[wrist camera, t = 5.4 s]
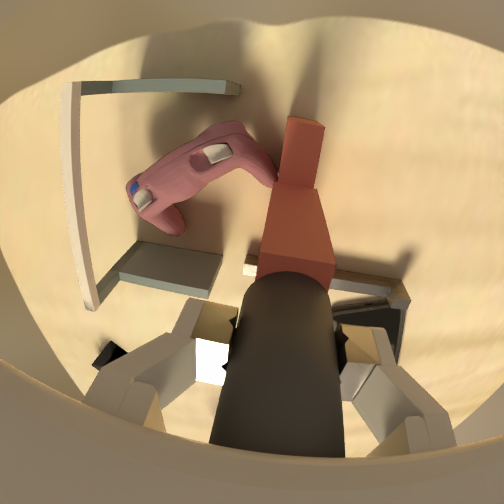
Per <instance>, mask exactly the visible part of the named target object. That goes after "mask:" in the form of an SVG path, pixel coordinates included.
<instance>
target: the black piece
mask: <svg viewBox="0 0 504 504" xmlns="http://www.w3.org/2000/svg"><path fill="white" fill-rule="evenodd" d="M126 354H127V352H126V351H125V350H123V349H122V348H120V347H119V346H118V345H116V344H115V343H114V342H112V341H110V342H109V343H108V345H107V346H106V347H105V348H104V350H103V351H102V352H101V353H100V355H99V356H98V357H97V358H96V360H95V361H94V362H93V364H92V366H93V367H95V368H96V369H97V370H99V371H100V369H101V367H103V366H105V365H107V364H109V363H111V362H112V361H114V360H116V359H118V358H120V357H122V356H124V355H126Z"/></svg>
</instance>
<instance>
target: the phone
mask: <svg viewBox="0 0 504 504" xmlns="http://www.w3.org/2000/svg"><path fill="white" fill-rule="evenodd" d="M372 303H374V304H373V305H366V304H372ZM364 305H366V306H364ZM331 310H332V317H333V325H334V332H335V329H336V327H337V326H338V324H347V325H356V326H365V327H379V328H384V329H385V330H386V332H387V335H388V339H389V342H390V345H391V348H392V352H393V355H394V358H395V362H396V365H397V363H398V357H399V352H400V346H401V340H402V334H403V327H404V320H405V312H406V310H403V309H395V308H390V305H389V302H388V300H387V299H384V300H378V301H371V302H365V303H358V304H351V305H344V306H337V307H333V308H331Z"/></svg>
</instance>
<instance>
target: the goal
mask: <svg viewBox="0 0 504 504" xmlns="http://www.w3.org/2000/svg"><path fill="white" fill-rule="evenodd" d="M240 88H241V85H239V84H236V83H233V82H230V81H227V80H214V79H188V78H159V79H133V80H119V81H79V82H68V83H62V86H61V109H60V140H61V164H62V178H63V189H64V199H65V207H66V215H67V222H68V228H69V235H70V241H71V246H72V252H73V257H74V262H75V267H76V271H77V276H78V280H79V284H80V289H81V293H82V297H83V300H84V304H85V308H86V309H87V310H90V311H93V312H95V311H96V310H97V309H98V307H99V306H100V305H101V303H102V302H103V301H104V300H105V298H106V297H107V296H108V294H109V293H110V292H111V291H112V289H113V288H114V287H115V286H116V284H117V283H118V282H119V281H120V280H121V281H125V282H130V283H134V284H138V285H143V286H147V287H151V288H156V289H161V290H165V291H170V292H175V293H179V294H184V295H189V296H194V297H199V298H204V299H208V298H209V295H210V292H211V290H212V287H213V285H214V282H215V280H216V277H217V275H218V272H219V270H220V267H221V265H222V257H223V256H222V255H216V254H210V253H204V252H199V251H193V250H187V249H181V248H176V247H170V246H164V245H159V244H153V243H147V242H142V241H136V242H135V243H134V244H133V245H132V246H131V248H130V249H129V250H128V251H127V252H126V253H125V254H124V255H123V256H122V257H121V258H120V259H119V260H118V262H117V263H116V264H115V265H114V266H113V267H112V268H111V269H110V270H109V272H108V273H107V274H106V275H105V276H104V277H103V278H102V279H101V281H100V282H99V283H98V284H97V285H96V284H95V279H94V274H93V268H92V263H91V257H90V251H89V245H88V238H87V231H86V223H85V215H84V205H83V194H82V182H81V164H80V100H81V96H83V95H94V94H107V93H128V92H193V93H212V94H226V95H237V96H240Z"/></svg>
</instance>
